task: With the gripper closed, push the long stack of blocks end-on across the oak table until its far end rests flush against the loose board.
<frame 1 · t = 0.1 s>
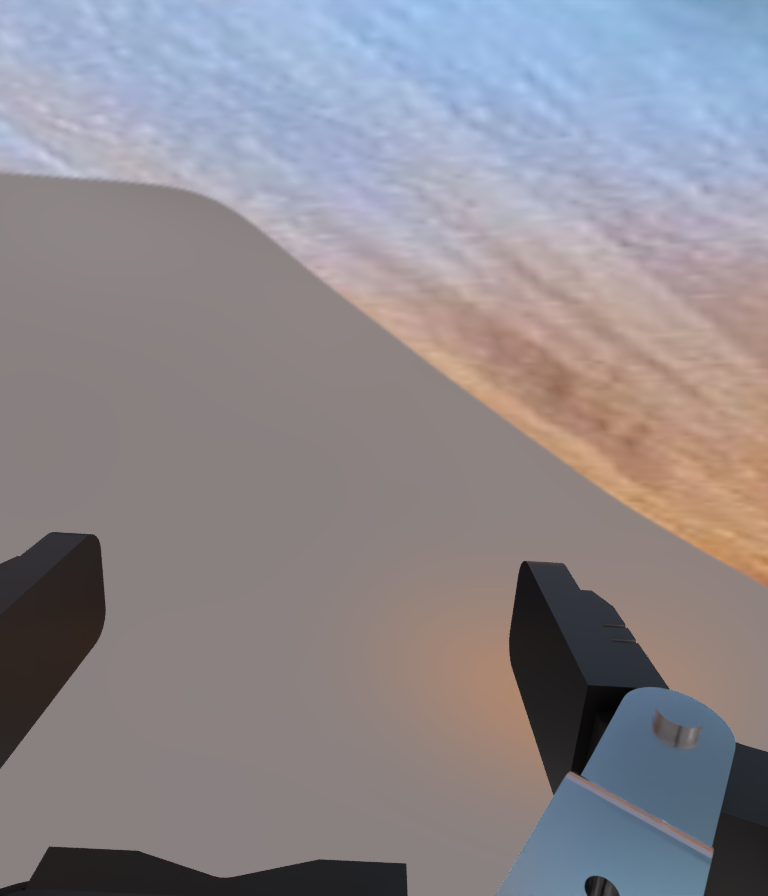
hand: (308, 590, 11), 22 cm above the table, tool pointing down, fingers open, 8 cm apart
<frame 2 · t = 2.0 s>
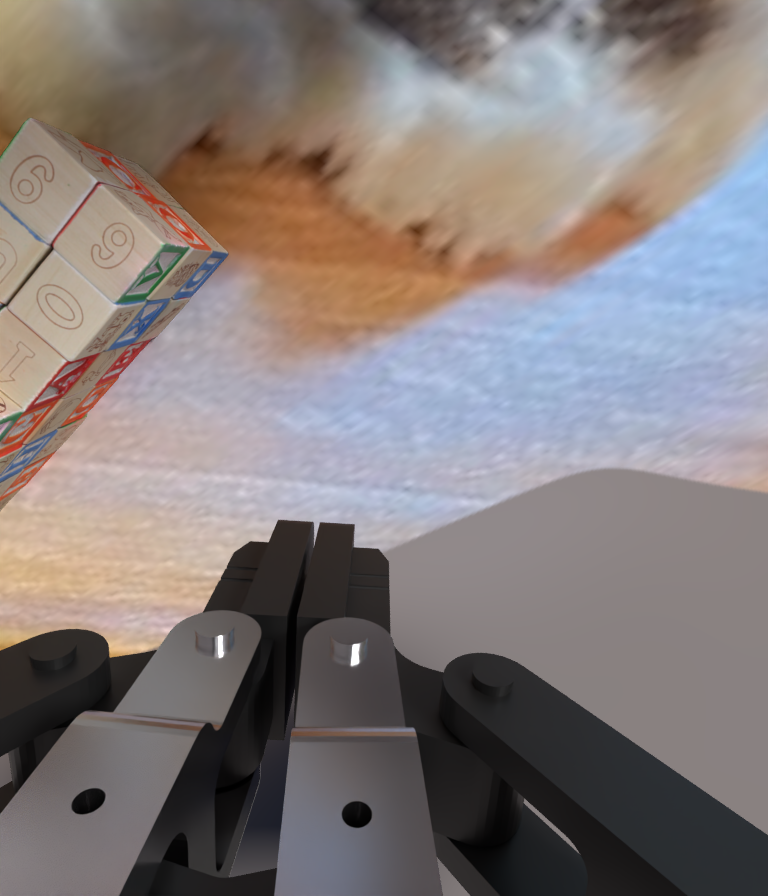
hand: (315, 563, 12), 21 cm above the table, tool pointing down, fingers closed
stack of blocks: (61, 355, 32), on the table
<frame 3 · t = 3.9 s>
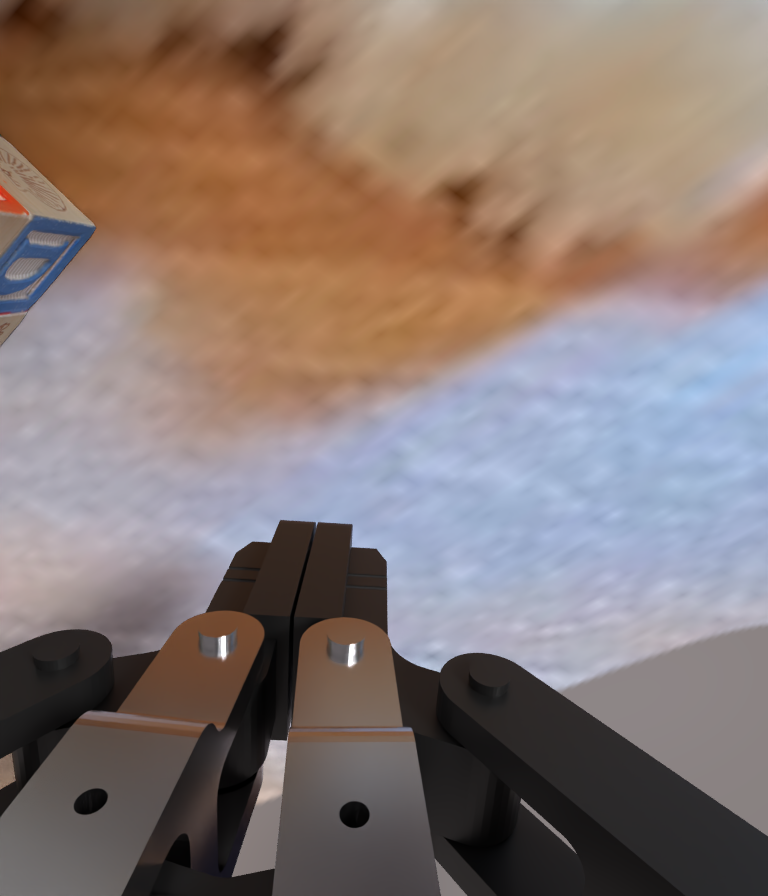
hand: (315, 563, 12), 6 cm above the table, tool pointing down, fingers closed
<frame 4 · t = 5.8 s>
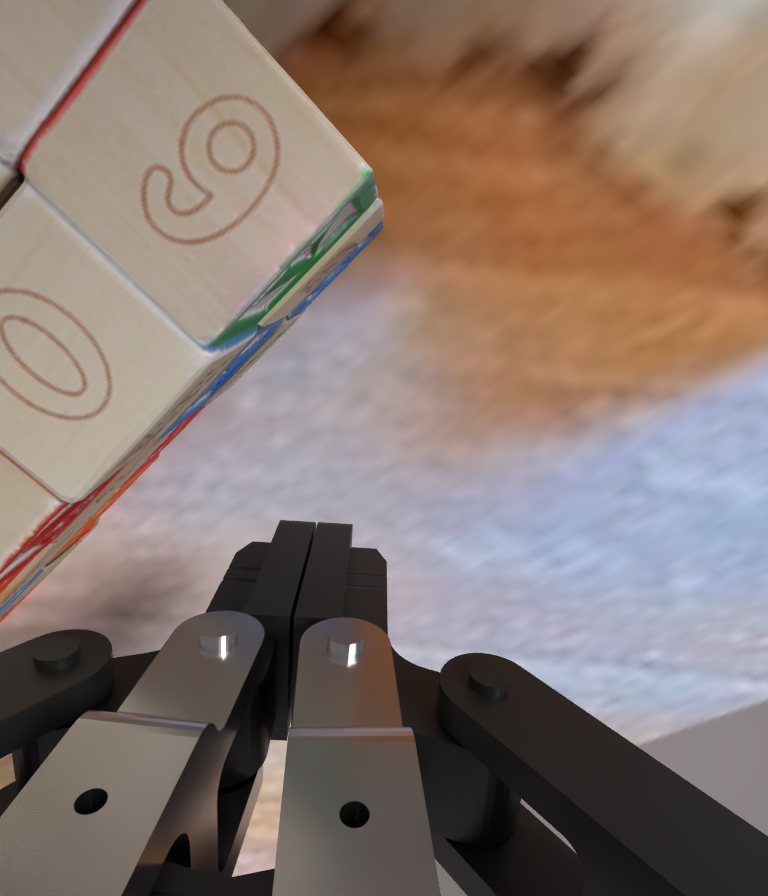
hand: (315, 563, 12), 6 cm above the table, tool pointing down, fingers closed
stack of blocks: (54, 414, 17), on the table
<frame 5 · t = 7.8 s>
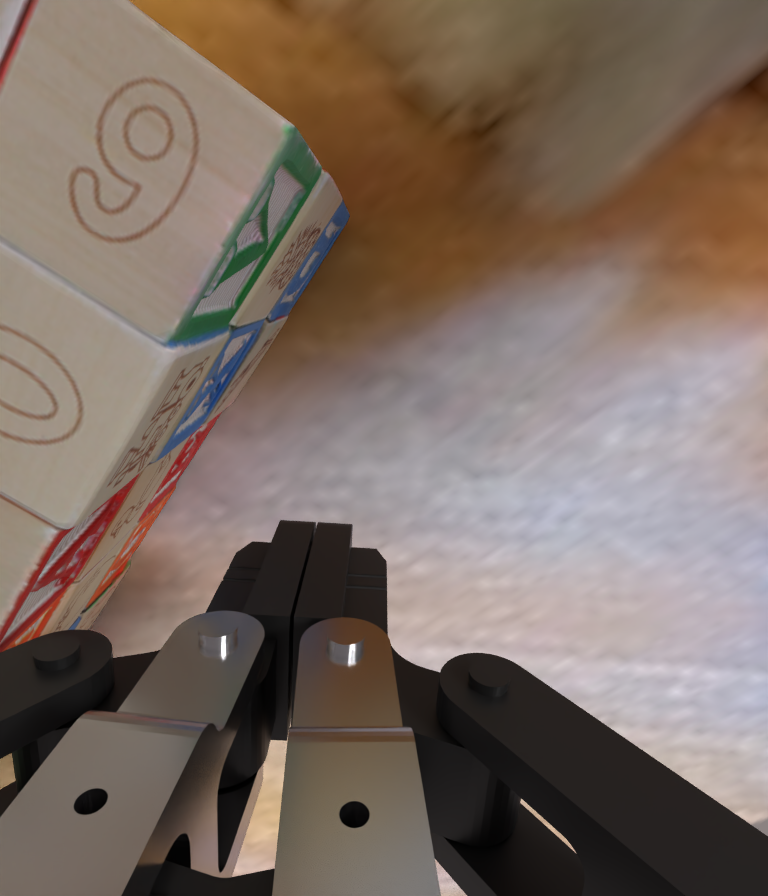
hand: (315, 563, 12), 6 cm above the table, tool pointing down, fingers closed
stack of blocks: (69, 464, 18), on the table, touching hand
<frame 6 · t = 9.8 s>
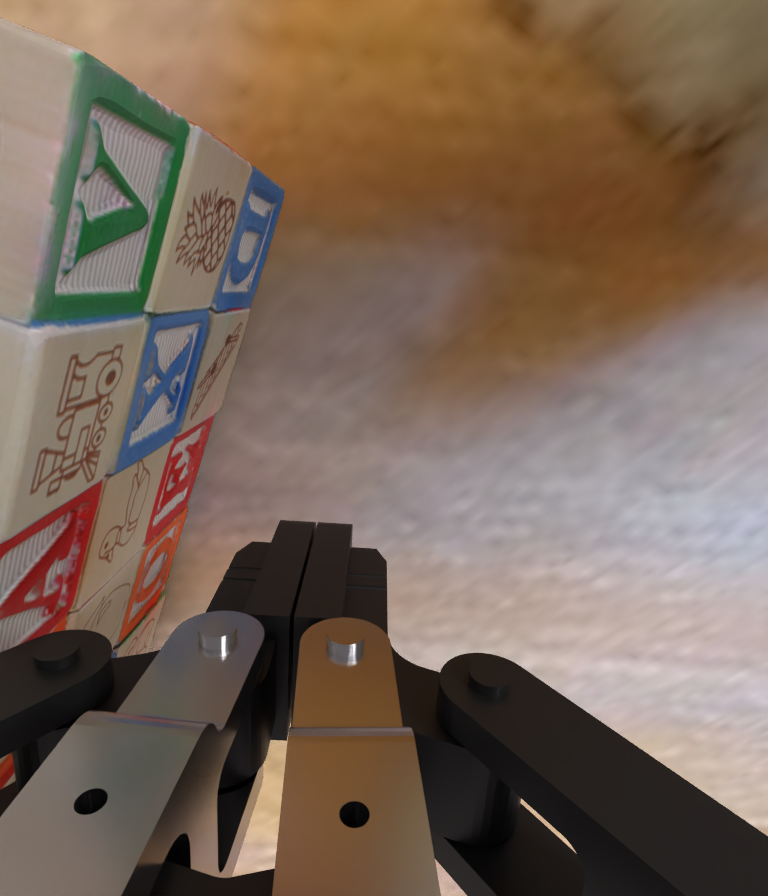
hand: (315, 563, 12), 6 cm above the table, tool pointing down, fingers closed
stack of blocks: (86, 509, 18), on the table, touching hand
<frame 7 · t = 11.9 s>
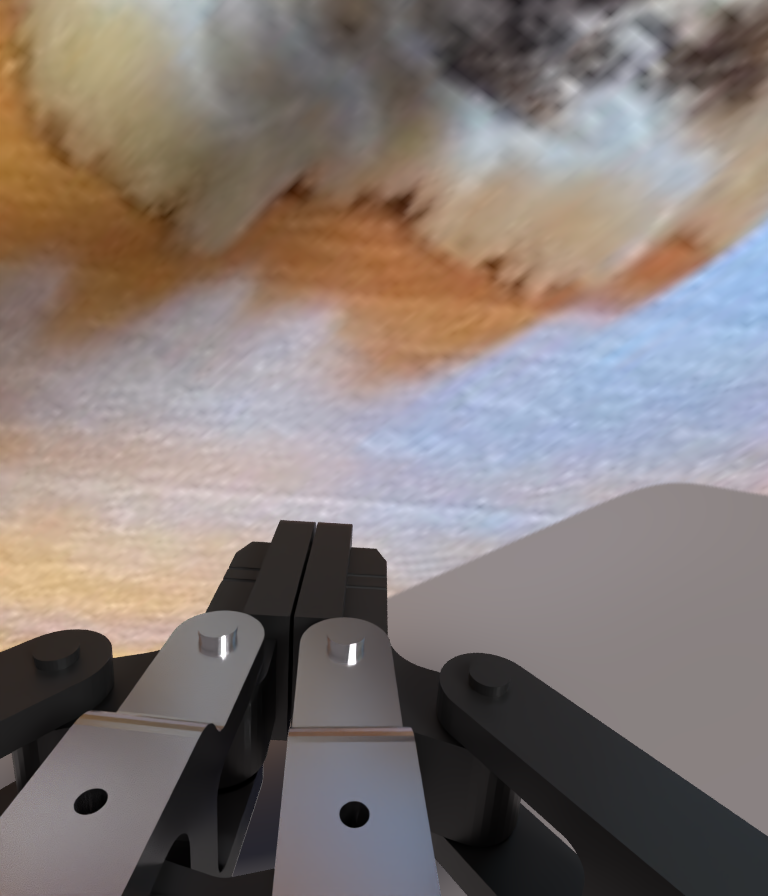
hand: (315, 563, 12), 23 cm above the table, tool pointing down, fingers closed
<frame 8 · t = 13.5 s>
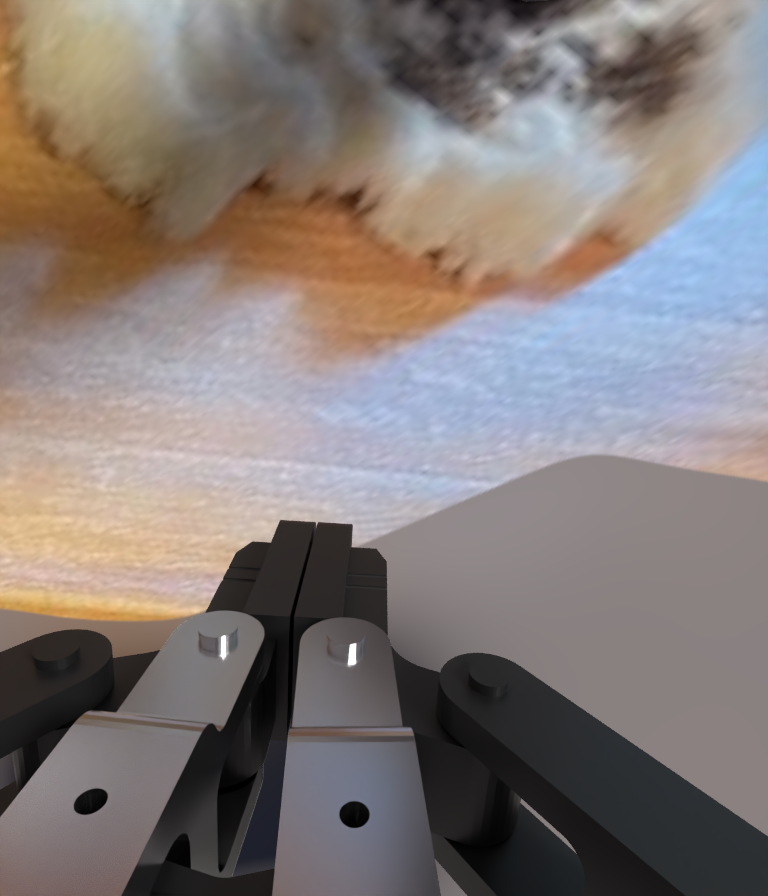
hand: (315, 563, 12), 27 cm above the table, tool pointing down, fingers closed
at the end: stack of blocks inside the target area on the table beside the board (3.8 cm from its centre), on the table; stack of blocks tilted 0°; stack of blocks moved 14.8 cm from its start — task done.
